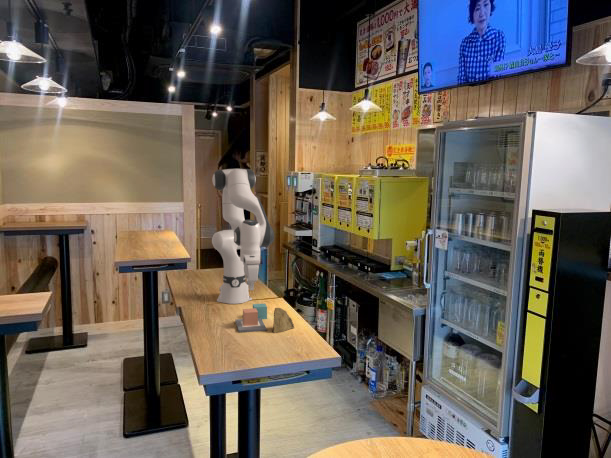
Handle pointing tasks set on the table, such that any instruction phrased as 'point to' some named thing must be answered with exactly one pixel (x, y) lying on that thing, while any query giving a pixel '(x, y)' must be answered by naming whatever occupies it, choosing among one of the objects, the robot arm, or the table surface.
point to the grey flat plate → (250, 328)
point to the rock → (281, 321)
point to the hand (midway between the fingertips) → (250, 287)
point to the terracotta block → (250, 317)
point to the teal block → (261, 310)
